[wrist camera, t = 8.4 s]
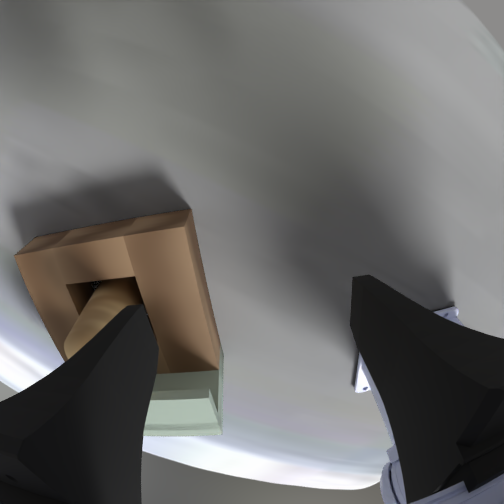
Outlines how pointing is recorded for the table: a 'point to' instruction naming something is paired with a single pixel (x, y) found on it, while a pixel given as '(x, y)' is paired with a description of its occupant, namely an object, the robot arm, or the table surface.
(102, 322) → the peg
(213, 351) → the socket block
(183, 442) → the table surface
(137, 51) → the table surface
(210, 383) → the pale green grooved slab
